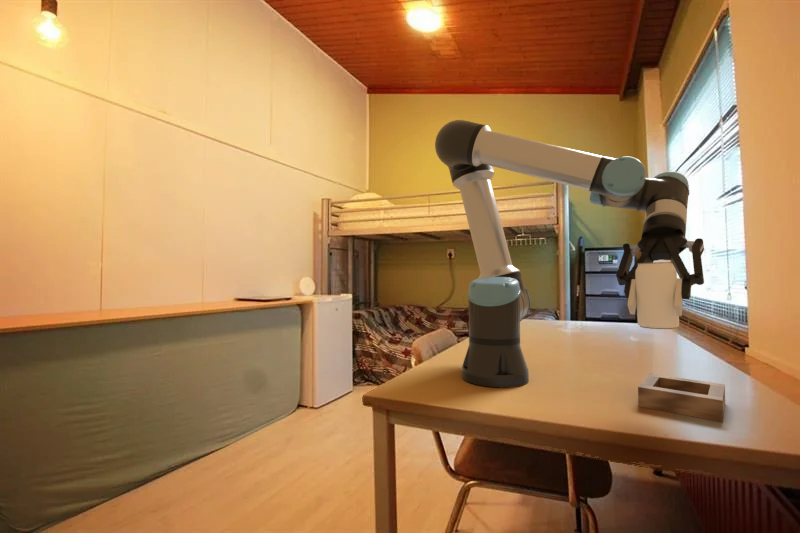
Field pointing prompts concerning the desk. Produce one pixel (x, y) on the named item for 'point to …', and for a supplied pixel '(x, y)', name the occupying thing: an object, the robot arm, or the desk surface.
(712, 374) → the desk surface
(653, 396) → the holder
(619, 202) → the robot arm
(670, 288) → the can
